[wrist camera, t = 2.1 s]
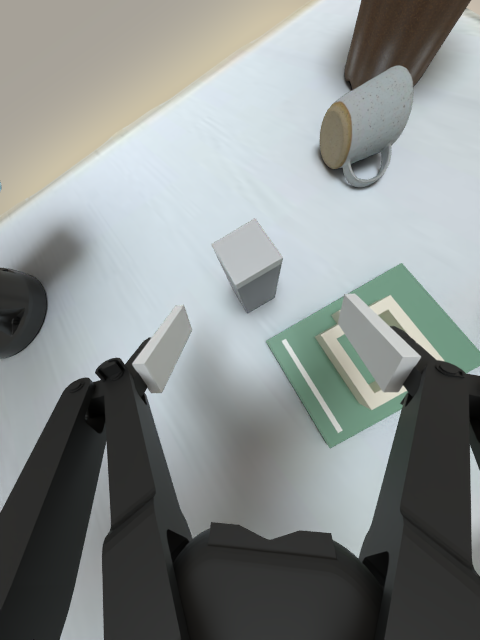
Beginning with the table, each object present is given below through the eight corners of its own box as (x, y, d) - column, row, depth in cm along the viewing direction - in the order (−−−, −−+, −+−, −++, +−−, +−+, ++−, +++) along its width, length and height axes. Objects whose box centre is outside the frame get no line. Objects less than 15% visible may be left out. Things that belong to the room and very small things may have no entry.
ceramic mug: (311, 150, 29) (328, 80, 21) (358, 127, 28) (393, 48, 21) (343, 200, 27) (375, 142, 19) (395, 176, 26) (448, 107, 19)
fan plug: (232, 288, 26) (211, 244, 16) (258, 272, 26) (255, 218, 15) (247, 313, 25) (235, 285, 15) (274, 297, 25) (282, 257, 14)
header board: (266, 341, 24) (266, 339, 21) (394, 267, 24) (418, 252, 20) (326, 443, 21) (339, 461, 18) (475, 360, 21) (520, 362, 17)
